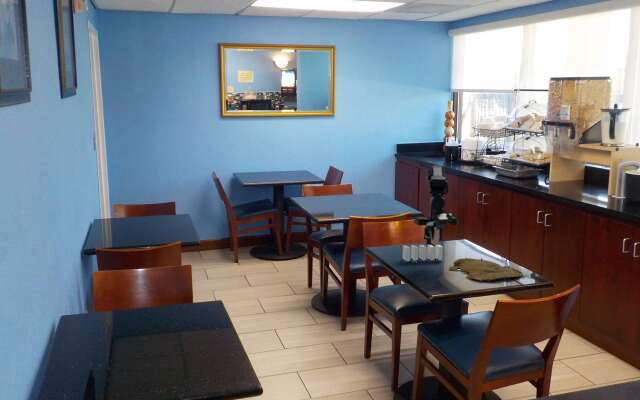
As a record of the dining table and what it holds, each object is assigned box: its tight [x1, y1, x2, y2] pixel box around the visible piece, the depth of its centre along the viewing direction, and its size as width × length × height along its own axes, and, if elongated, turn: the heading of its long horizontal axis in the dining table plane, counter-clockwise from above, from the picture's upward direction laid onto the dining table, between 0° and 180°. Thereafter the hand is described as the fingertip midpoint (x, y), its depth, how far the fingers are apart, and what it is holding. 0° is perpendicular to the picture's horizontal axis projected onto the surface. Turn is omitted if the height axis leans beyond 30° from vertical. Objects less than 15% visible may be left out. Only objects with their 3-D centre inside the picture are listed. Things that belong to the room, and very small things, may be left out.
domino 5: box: [431, 227, 440, 245], centre depth 261 cm, size 4×2×7 cm, turn 12°
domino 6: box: [434, 244, 444, 261], centre depth 270 cm, size 4×2×7 cm, turn 13°
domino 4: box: [426, 245, 435, 261], centre depth 270 cm, size 4×2×7 cm, turn 13°
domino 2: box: [410, 244, 419, 261], centre depth 268 cm, size 4×2×7 cm, turn 13°
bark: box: [448, 257, 524, 282], centre depth 253 cm, size 28×4×30 cm
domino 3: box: [418, 244, 427, 261], centre depth 269 cm, size 4×2×7 cm, turn 13°
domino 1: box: [402, 245, 411, 261], centre depth 267 cm, size 4×2×7 cm, turn 13°
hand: (434, 239), depth 262 cm, fingers closed on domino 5, 2 cm apart
